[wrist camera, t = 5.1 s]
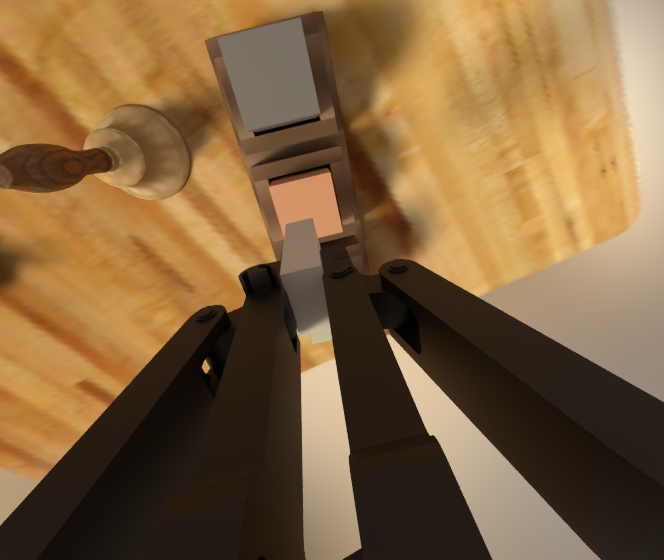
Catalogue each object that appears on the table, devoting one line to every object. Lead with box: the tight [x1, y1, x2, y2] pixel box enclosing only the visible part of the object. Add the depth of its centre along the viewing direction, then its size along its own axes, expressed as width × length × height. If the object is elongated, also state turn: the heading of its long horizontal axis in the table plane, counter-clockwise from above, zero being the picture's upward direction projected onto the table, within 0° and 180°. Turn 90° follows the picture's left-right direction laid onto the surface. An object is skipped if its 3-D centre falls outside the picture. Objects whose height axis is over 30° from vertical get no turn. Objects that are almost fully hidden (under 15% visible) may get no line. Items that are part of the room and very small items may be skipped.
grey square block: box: [217, 17, 320, 132], centre depth 21 cm, size 5×5×6 cm
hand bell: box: [0, 105, 190, 200], centre depth 22 cm, size 8×8×16 cm
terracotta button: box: [269, 165, 343, 238], centre depth 28 cm, size 5×5×6 cm
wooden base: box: [205, 11, 370, 275], centre depth 30 cm, size 28×10×5 cm, turn 12°
